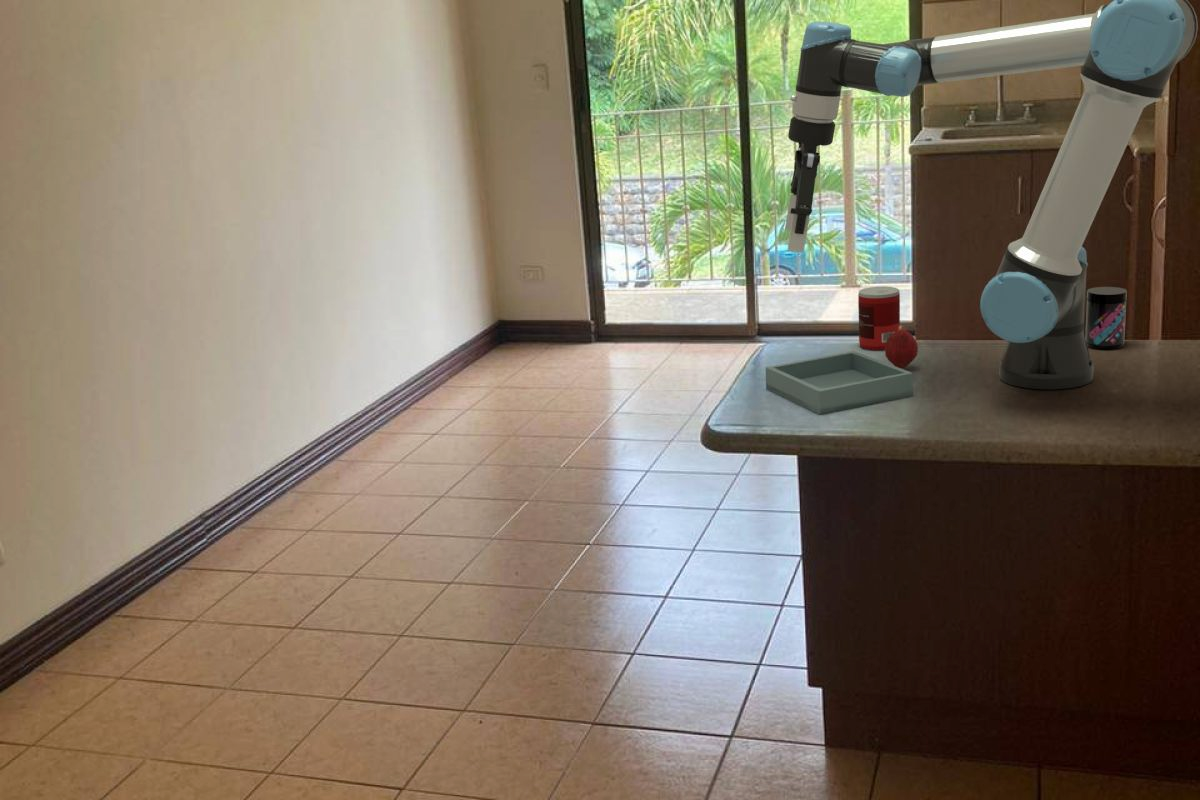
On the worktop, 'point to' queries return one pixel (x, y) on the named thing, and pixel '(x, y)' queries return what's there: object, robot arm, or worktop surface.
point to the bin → (839, 382)
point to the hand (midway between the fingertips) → (793, 241)
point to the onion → (901, 348)
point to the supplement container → (1105, 317)
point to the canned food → (878, 316)
